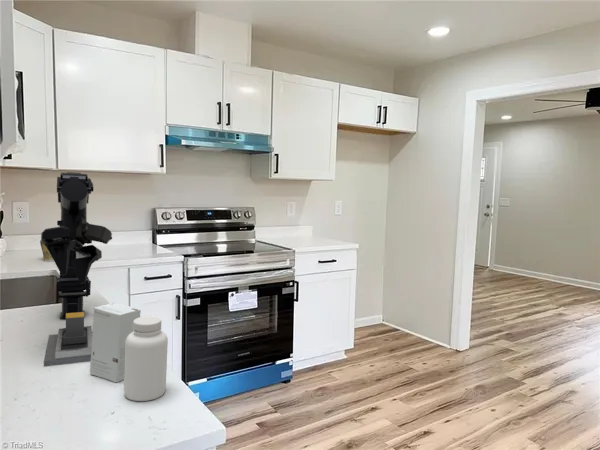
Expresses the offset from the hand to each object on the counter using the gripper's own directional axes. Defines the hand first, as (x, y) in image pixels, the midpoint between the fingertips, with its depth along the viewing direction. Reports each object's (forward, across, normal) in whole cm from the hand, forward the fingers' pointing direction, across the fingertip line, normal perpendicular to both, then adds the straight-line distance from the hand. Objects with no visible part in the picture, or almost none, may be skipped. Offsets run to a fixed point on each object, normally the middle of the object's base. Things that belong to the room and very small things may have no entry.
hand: (73, 279), depth 104 cm
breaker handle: (+13, +10, +4) cm, 17 cm away
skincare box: (+24, -2, -10) cm, 26 cm away
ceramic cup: (-46, +108, +61) cm, 133 cm away
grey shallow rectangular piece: (+15, +9, +4) cm, 18 cm away
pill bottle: (+29, -8, -18) cm, 35 cm away
